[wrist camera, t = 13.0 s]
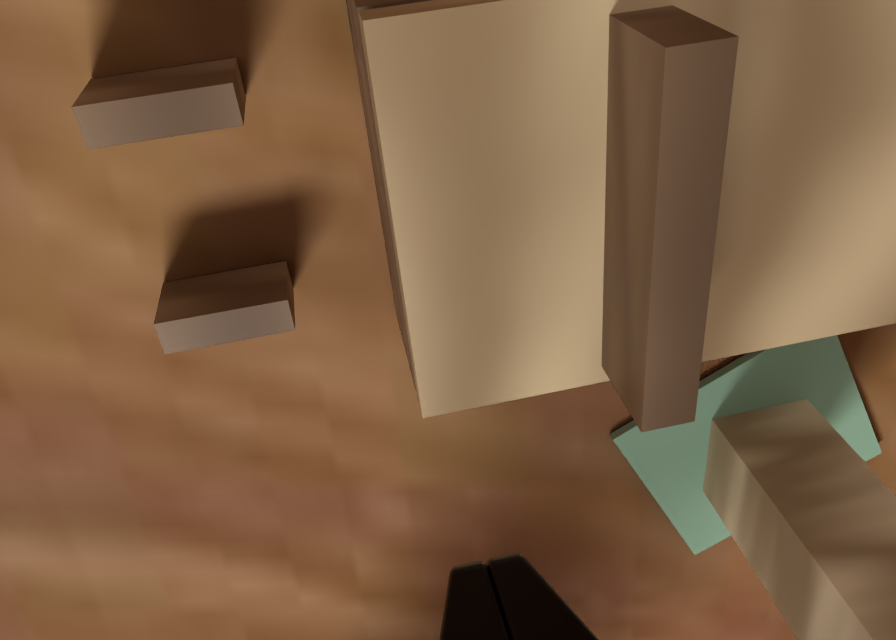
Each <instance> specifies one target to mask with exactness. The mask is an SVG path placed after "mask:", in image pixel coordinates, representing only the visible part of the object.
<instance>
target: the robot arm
mask: <svg viewBox="0 0 896 640" xmlns="http://www.w3.org/2000/svg"><path fill="white" fill-rule="evenodd" d="M440 640H599V639H598V638H597V637H596V636H595V635H594V634H593V633H592V632H591V631H590V629H589V628H588V627H587V626H586V625H585V624H584V623H583V622H582V621H581V619H580V618H579V617H578V616H577V615H576V614H575V613H574V612H573V611H572V609H571V608H570V607H569V606H568V605H567V604H566V603H565V602H564V601H563V599H562V598H561V597H560V596H559V595H558V594H557V593H556V592H555V591H554V590H553V588H552V587H551V586H550V585H549V584H548V583H547V582H546V581H545V580H544V578H543V577H542V576H541V575H540V574H539V573H538V572H537V571H536V570H535V568H534V567H533V566H532V565H531V564H530V563H529V562H528V561H527V560H526V559H525V558H524V557H523V556H522V555H520V554H518V553H512V554H508V555H503V556H499V557H494V558H491V559H489V560H488V561H487V563H486V564H485V563H484V562H481V561H476V562H472V563H467V564H463V565H458V566H455V567H453V568H452V569H451V571H450V575H449V581H448V588H447V594H446V601H445V608H444V614H443V621H442V627H441V634H440Z"/></svg>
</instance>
